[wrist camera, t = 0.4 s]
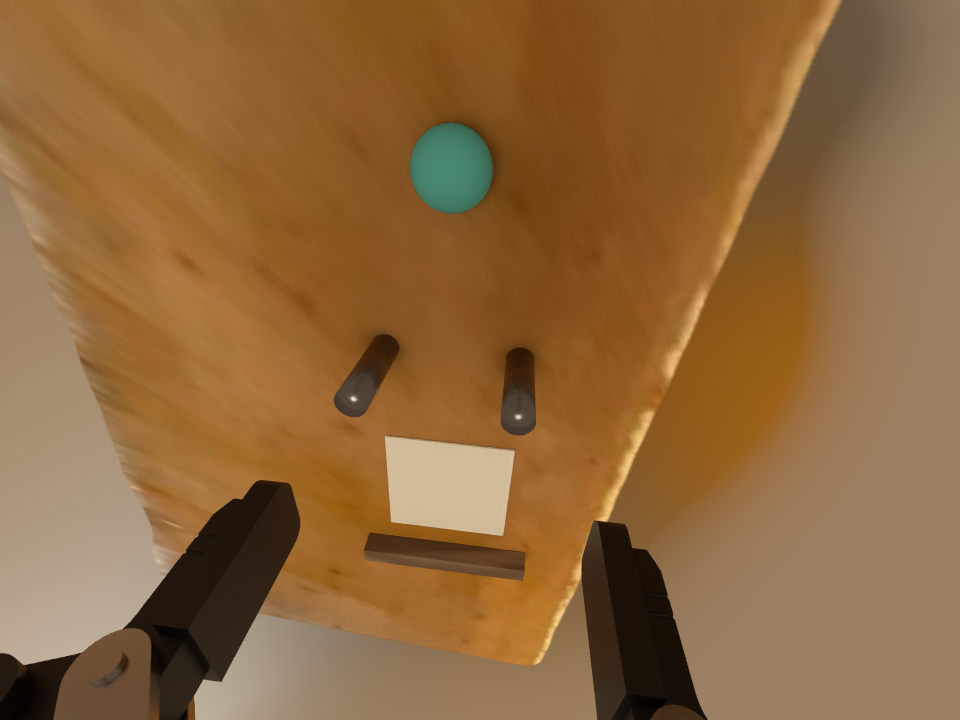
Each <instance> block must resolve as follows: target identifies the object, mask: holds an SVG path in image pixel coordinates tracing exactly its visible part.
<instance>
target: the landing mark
mask: <svg viewBox="0 0 960 720" xmlns="http://www.w3.org/2000/svg"><path fill="white" fill-rule="evenodd" d="M385 444H386V458H387V471H388V484H389V497H390V511H391V522H396V523H404V524H412V525H420V526H428V527H436V528H444V529H452V530H460V531H468V532H476V533H484V534H492V535H501V536H503V532H504V525H505V518H506V511H507V503H508V496H509V489H510V482H511V474H512V467H513V460H514V453H515V450H512V449H504V448H495V447H486V446H477V445H468V444H459V443H451V442H442V441H433V440H424V439H415V438H406V437H397V436H389V435H385Z"/></svg>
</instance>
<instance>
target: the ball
mask: <svg viewBox="0 0 960 720" xmlns="http://www.w3.org/2000/svg"><path fill="white" fill-rule="evenodd" d="M410 173H411V179H412V182H413V185H414V187H415V189H416V191H417V193H418V195H419V196H420V197H421V198H422V200H423V201H424V202H425V203H426V204H428V205H429V206H430V207H432V208H434V209H435V210H438V211H440V212H444V213H452V214H455V213H462V212H465V211H468V210H470V209H472V208H473V207H475V206H476V205H477V204H478V203H479V202H480V201H481V200H482V199H483V198H484V197H485V195H486V194H487V192H488V190H489V187H490V185H491V181H492V175H493V163H492V158H491V154H490V151H489V149H488V147H487V145H486V143H485V142H484V140H483V139H482V138H481V137H480V135H479V134H477V133H476V132H475V131H474V130H472V129H471V128H469V127H467V126H465V125H462V124H459V123H442V124H439V125H436V126H434V127H432V128H430V129H429V130H427V131H426V132H425V133H424V134H423V135H422V136H421V137H420V138H419V140H418V141H417V143H416V144H415V147H414V149H413V152H412V155H411V161H410Z"/></svg>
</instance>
